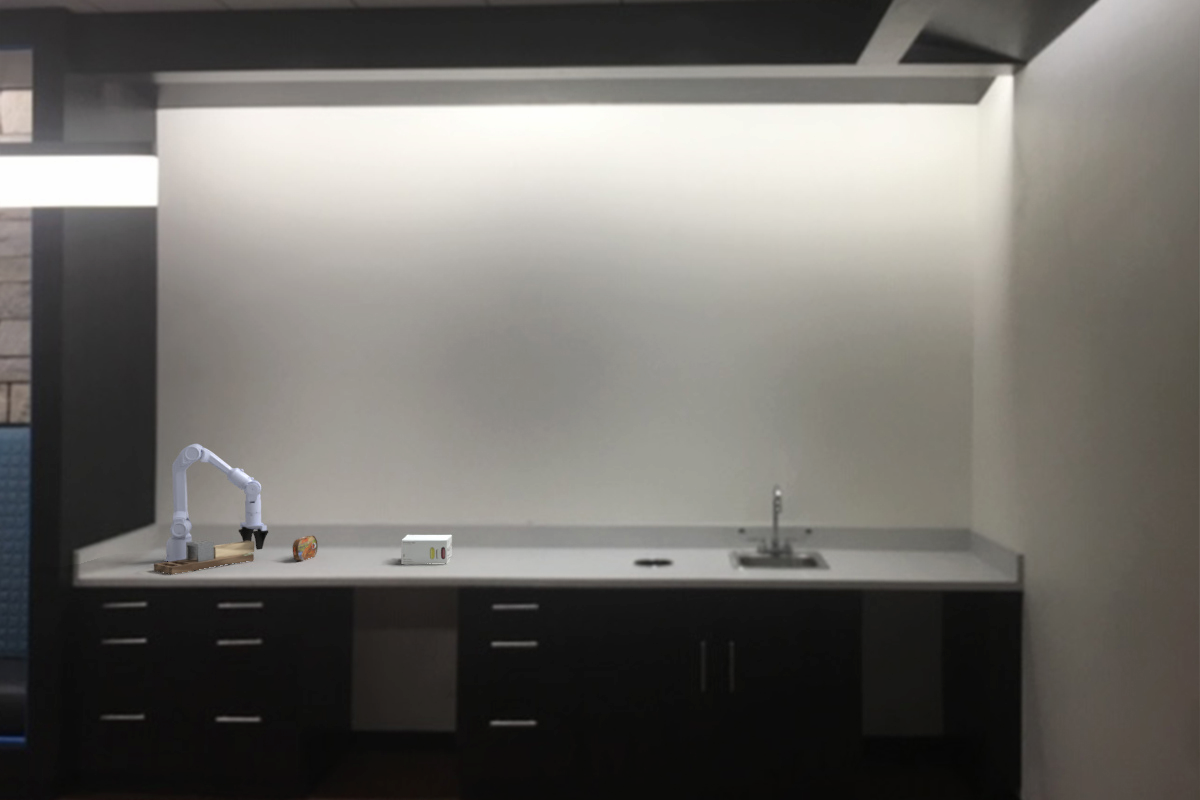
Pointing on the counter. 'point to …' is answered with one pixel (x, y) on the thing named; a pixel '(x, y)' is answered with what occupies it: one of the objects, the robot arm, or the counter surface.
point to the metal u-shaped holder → (200, 550)
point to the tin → (305, 548)
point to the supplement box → (426, 549)
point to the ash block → (233, 549)
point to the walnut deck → (200, 563)
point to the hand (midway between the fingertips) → (253, 548)
